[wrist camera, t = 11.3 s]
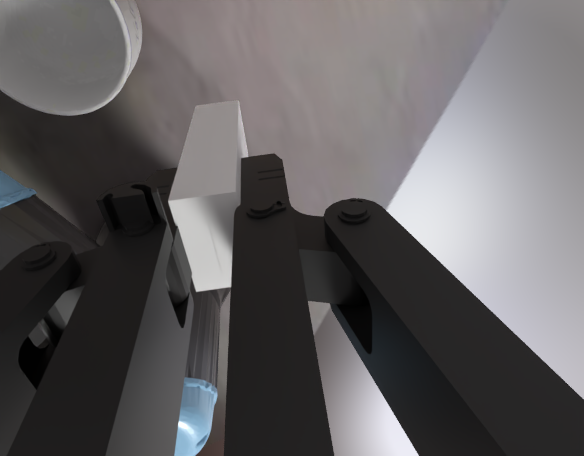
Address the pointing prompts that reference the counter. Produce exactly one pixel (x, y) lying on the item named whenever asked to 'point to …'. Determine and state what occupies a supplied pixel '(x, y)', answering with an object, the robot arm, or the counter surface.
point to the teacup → (67, 52)
